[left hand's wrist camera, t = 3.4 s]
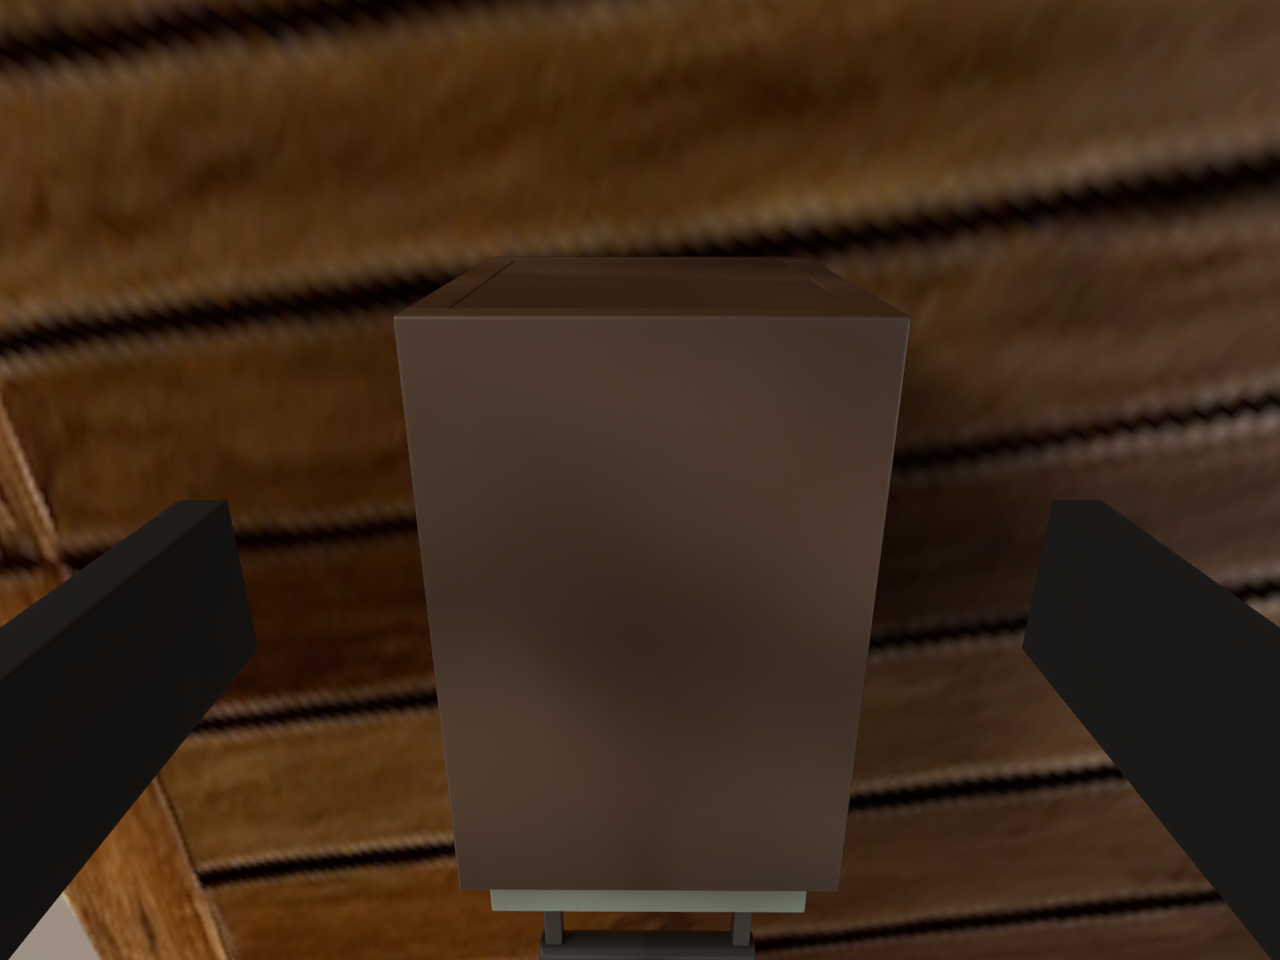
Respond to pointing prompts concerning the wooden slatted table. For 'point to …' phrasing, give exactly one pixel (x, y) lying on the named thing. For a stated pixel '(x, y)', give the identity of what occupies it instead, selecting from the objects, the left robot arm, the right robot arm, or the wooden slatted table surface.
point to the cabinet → (650, 562)
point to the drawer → (647, 952)
